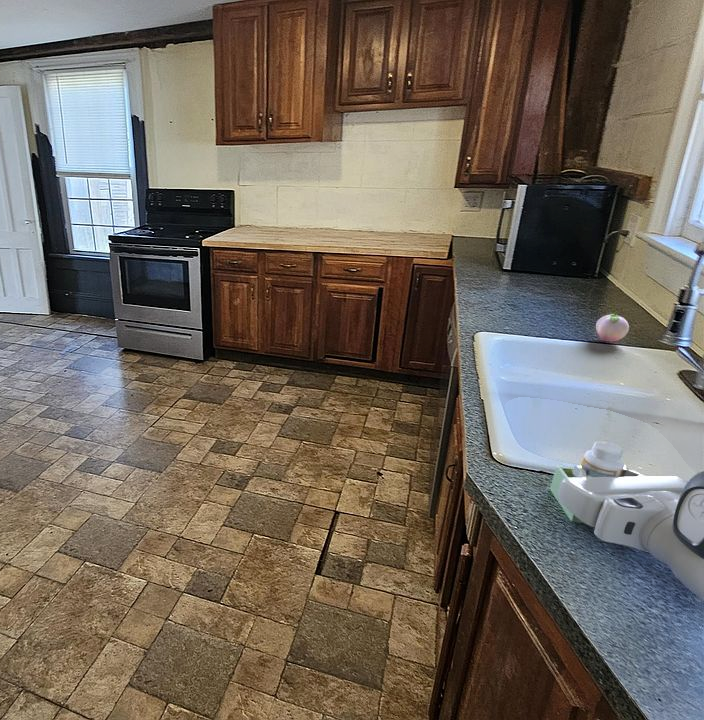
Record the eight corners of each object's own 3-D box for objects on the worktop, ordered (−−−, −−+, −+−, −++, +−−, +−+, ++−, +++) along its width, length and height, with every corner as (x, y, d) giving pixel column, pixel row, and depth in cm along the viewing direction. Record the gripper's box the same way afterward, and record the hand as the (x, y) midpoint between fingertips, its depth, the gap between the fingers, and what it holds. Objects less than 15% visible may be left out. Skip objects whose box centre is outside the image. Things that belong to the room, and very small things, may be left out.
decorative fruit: (627, 349, 163) (637, 318, 160) (596, 345, 166) (605, 315, 162) (618, 339, 172) (628, 310, 168) (589, 336, 174) (598, 307, 170)
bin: (604, 494, 95) (612, 470, 93) (631, 528, 87) (641, 503, 85) (549, 489, 97) (556, 465, 95) (571, 522, 88) (579, 497, 86)
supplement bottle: (592, 487, 94) (609, 437, 90) (619, 506, 89) (637, 454, 85) (564, 489, 93) (580, 439, 89) (589, 509, 88) (607, 457, 84)
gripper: (739, 503, 76) (661, 451, 89) (601, 505, 75) (543, 453, 88) (722, 538, 78) (649, 483, 91) (589, 540, 78) (534, 484, 90)
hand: (596, 468), depth 90 cm, fingers closed on supplement bottle, 5 cm apart
